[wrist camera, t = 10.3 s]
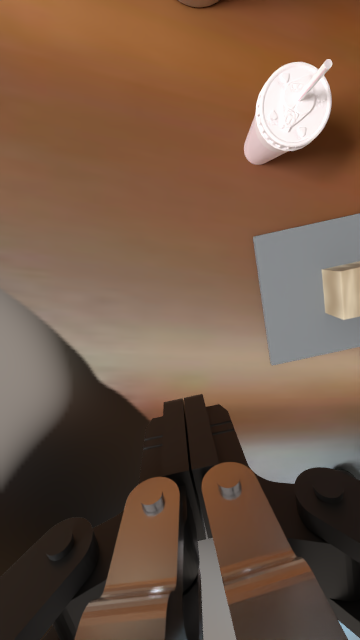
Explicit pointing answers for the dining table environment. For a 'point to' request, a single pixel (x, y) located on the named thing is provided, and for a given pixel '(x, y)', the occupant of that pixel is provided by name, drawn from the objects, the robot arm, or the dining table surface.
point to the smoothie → (289, 111)
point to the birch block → (342, 290)
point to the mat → (305, 288)
